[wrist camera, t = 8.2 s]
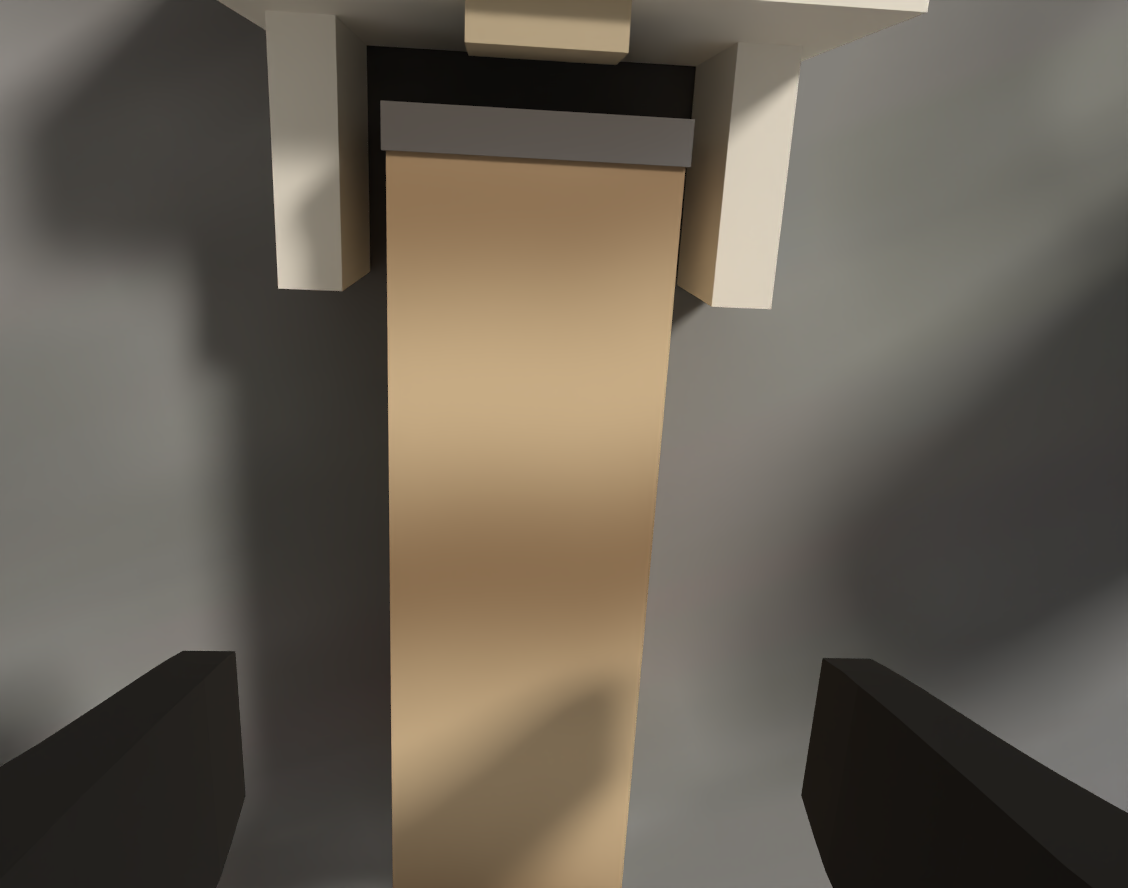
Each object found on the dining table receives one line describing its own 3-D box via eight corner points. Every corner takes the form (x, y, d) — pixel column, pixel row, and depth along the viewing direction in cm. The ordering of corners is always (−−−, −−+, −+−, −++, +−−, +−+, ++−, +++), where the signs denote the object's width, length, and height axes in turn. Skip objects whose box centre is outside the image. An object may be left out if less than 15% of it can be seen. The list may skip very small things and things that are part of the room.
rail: (591, 764, 20) (619, 949, 15) (417, 764, 20) (389, 953, 15) (637, 136, 16) (694, 120, 11) (418, 124, 16) (380, 100, 11)
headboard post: (750, 287, 17) (874, 343, 11) (290, 268, 16) (176, 316, 11) (791, -75, 15) (964, -226, 10) (274, -115, 15) (125, -305, 9)
